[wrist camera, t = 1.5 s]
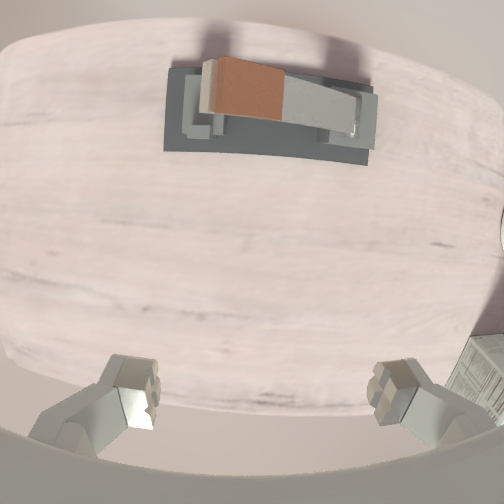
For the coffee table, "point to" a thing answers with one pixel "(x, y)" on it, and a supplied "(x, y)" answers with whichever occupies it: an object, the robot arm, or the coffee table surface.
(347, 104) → the bar
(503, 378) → the supplement box
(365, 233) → the coffee table surface
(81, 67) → the coffee table surface
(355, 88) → the base
